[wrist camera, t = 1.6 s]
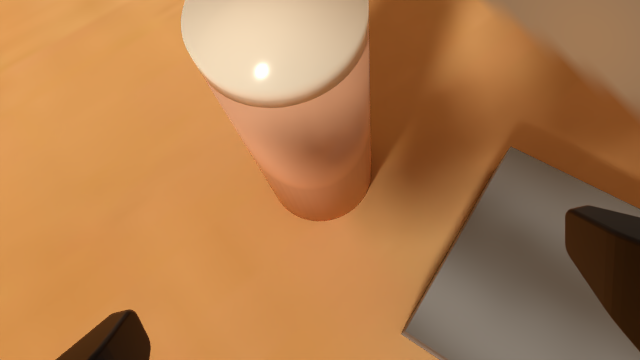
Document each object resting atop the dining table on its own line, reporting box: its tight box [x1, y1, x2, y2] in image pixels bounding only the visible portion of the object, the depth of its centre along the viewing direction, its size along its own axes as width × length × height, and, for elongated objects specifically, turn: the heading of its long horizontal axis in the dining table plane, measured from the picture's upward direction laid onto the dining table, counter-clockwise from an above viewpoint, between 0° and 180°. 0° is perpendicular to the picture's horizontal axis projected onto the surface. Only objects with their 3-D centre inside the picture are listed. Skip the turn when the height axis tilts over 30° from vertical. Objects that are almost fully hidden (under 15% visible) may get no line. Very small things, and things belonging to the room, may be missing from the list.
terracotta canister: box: [181, 0, 371, 221], centre depth 19 cm, size 6×6×13 cm
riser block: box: [401, 147, 640, 360], centre depth 20 cm, size 10×10×3 cm
